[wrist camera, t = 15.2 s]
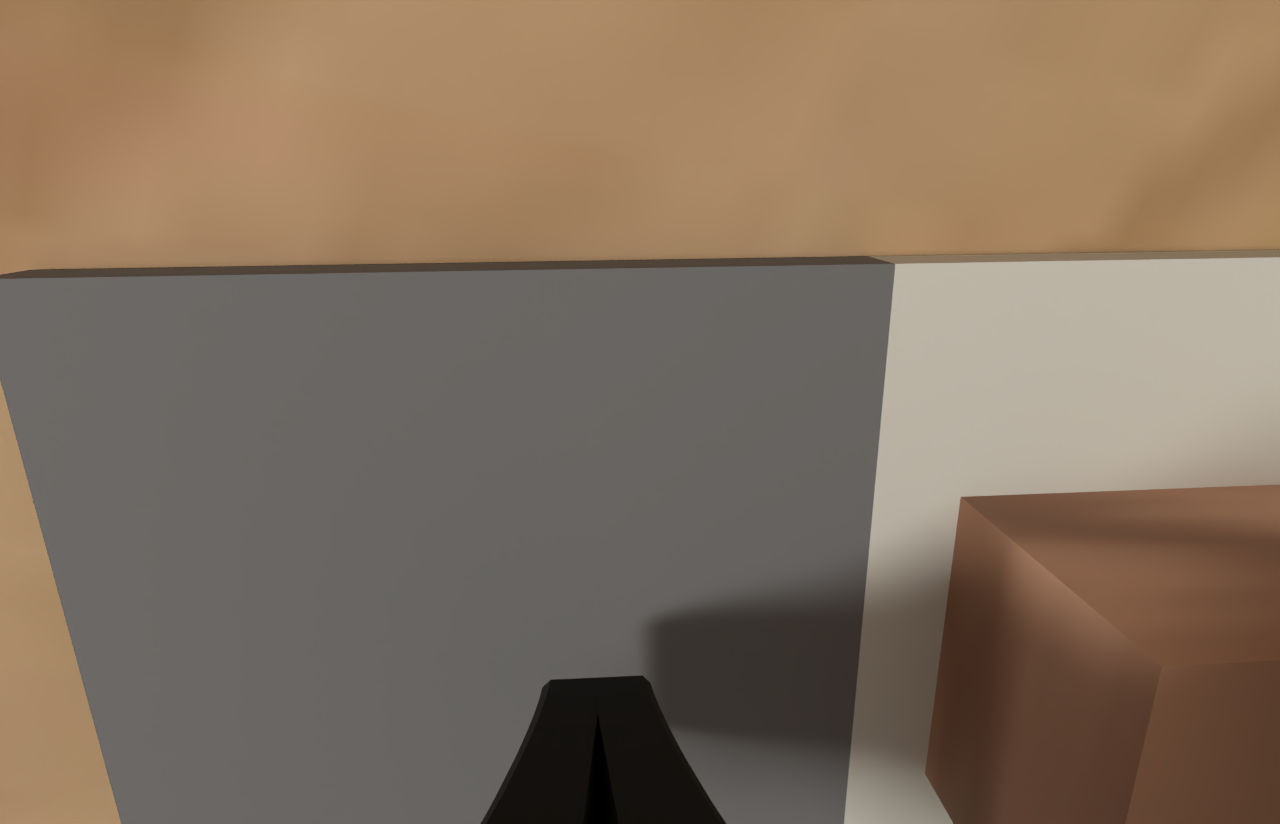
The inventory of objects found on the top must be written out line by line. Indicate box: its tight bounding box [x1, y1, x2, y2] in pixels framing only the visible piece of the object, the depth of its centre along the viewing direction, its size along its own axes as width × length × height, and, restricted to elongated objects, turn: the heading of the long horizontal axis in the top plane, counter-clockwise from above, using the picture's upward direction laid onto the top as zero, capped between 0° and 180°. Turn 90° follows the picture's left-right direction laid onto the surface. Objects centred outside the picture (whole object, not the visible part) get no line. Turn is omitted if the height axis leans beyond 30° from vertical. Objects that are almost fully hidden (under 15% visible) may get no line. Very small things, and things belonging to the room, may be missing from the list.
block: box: [925, 485, 1280, 824], centre depth 10 cm, size 5×5×4 cm
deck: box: [0, 250, 1280, 824], centre depth 12 cm, size 22×11×1 cm, turn 90°
